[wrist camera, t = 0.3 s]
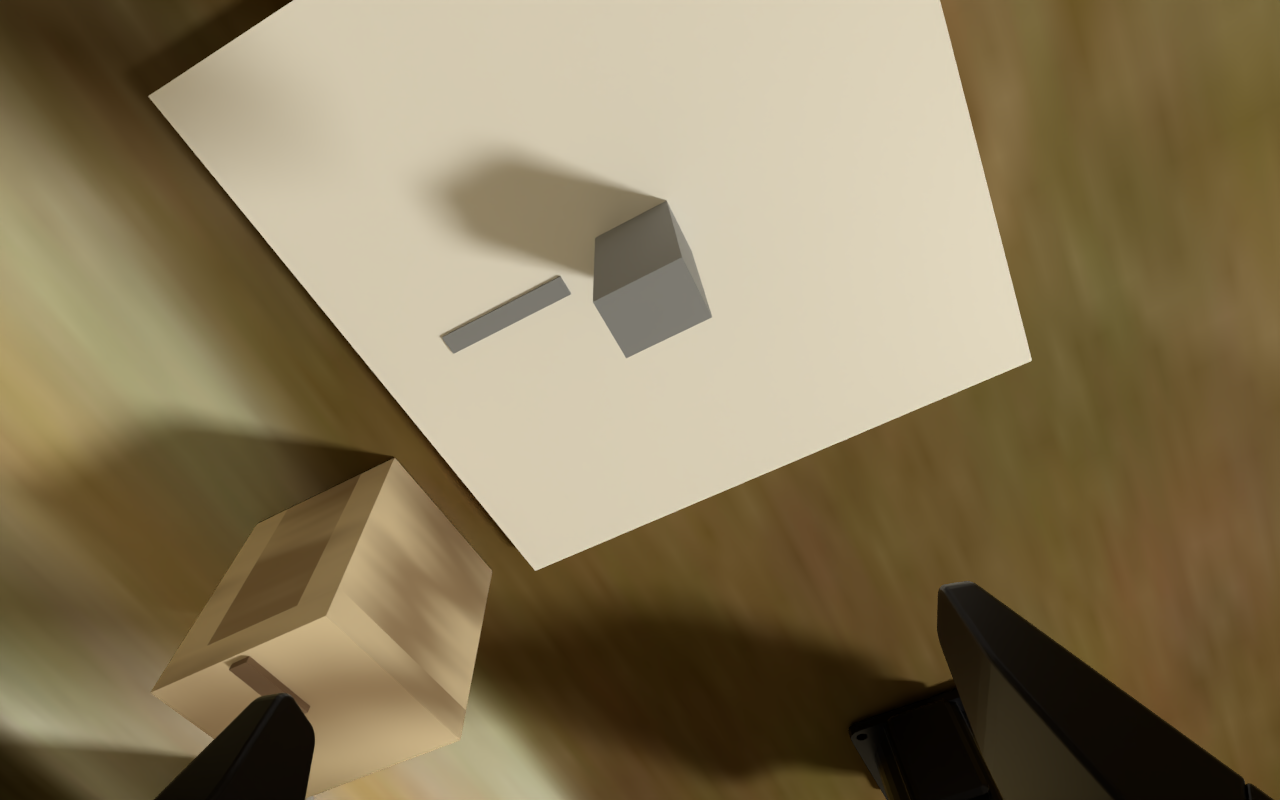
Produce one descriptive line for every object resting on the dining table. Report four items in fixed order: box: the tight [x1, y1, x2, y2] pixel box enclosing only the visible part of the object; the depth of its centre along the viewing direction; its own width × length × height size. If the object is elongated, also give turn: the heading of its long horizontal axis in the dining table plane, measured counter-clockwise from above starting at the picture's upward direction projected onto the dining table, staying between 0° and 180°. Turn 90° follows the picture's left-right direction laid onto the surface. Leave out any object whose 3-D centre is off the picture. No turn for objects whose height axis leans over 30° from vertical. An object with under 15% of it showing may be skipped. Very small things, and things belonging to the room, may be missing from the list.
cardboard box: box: [150, 458, 492, 799], centre depth 23 cm, size 6×6×7 cm
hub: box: [148, 0, 1032, 571], centre depth 18 cm, size 18×18×6 cm
